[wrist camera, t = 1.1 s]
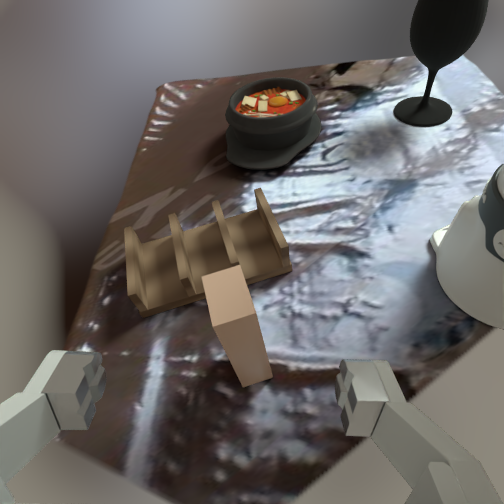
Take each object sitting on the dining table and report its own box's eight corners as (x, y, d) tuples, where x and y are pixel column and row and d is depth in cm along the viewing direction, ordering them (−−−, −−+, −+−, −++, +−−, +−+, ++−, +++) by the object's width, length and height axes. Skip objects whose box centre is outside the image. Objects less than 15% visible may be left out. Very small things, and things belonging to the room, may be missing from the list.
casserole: (303, 184, 58) (302, 141, 51) (206, 172, 63) (194, 131, 57) (333, 107, 71) (335, 65, 65) (250, 102, 77) (245, 64, 71)
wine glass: (453, 99, 67) (495, -28, 52) (451, 129, 61) (498, -5, 46) (397, 96, 70) (421, -24, 55) (390, 124, 65) (415, -2, 49)
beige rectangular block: (272, 377, 38) (256, 312, 26) (243, 387, 38) (212, 326, 26) (260, 337, 41) (240, 264, 30) (232, 347, 41) (201, 276, 29)
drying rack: (292, 270, 47) (290, 245, 42) (143, 318, 45) (125, 296, 41) (266, 213, 54) (262, 187, 50) (137, 252, 53) (122, 228, 48)
